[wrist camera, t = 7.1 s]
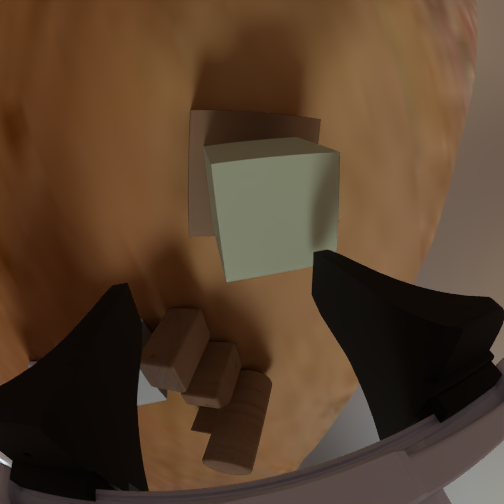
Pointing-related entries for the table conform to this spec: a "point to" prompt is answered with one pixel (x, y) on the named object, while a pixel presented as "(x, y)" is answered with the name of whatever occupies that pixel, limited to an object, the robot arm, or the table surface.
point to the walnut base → (229, 131)
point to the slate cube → (144, 388)
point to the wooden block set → (210, 387)
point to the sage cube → (272, 204)
